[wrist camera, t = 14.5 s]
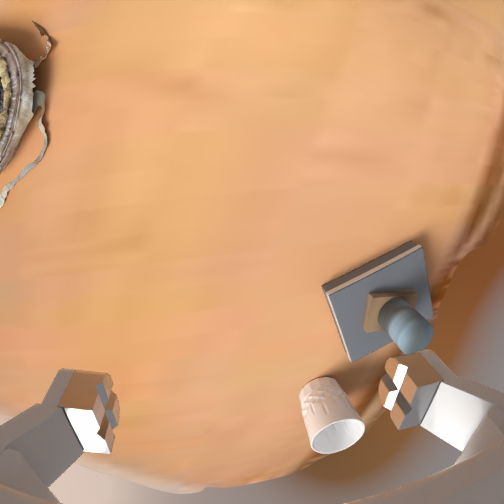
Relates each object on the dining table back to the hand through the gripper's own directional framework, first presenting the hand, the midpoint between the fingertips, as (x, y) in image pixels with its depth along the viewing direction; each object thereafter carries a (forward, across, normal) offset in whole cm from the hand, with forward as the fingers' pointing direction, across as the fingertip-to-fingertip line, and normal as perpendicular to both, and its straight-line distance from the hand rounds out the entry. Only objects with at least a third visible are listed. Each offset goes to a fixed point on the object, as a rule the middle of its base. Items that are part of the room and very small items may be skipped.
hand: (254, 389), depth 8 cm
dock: (+29, -22, +13) cm, 38 cm away
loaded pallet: (+26, -22, +13) cm, 36 cm away
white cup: (+29, -15, +30) cm, 44 cm away
